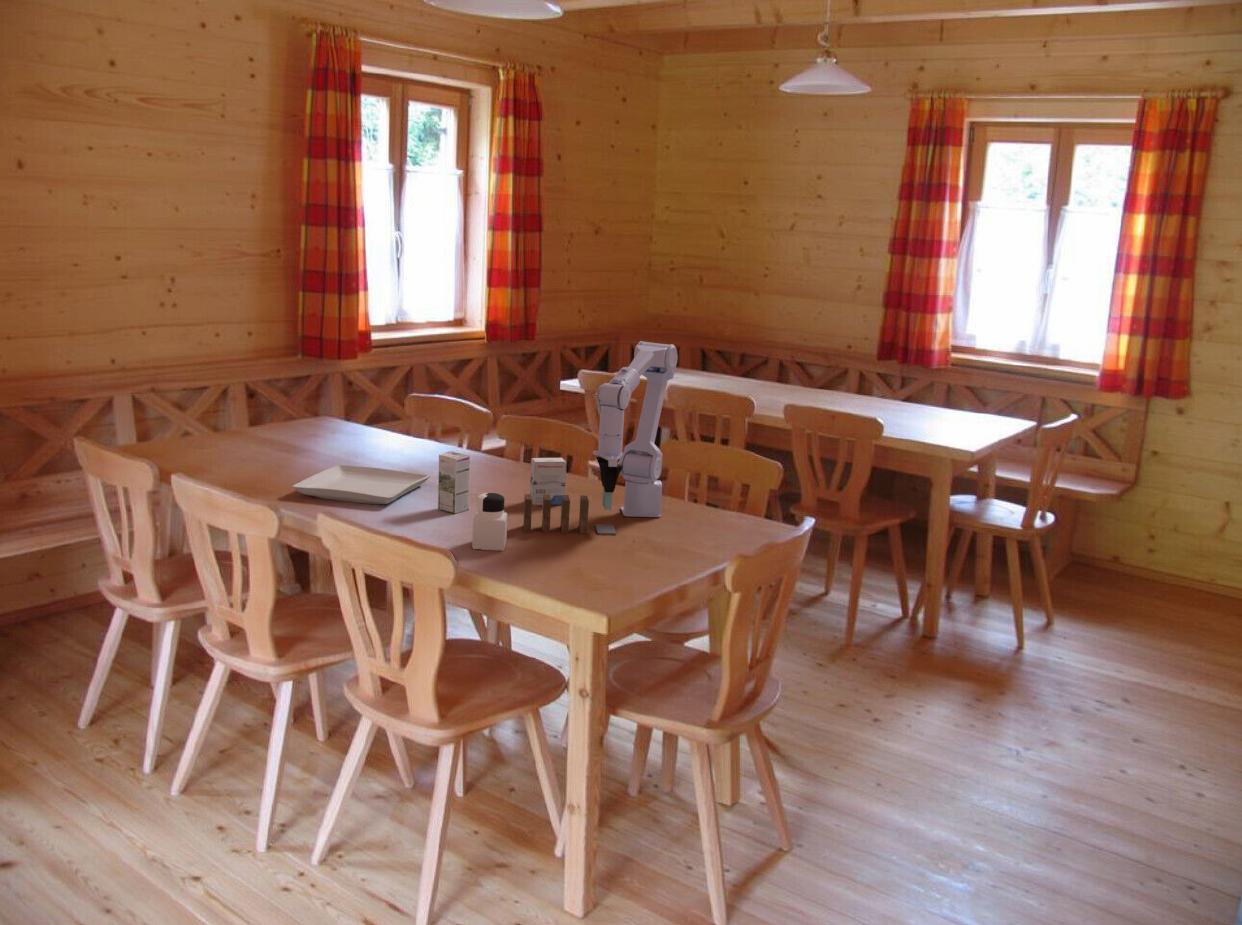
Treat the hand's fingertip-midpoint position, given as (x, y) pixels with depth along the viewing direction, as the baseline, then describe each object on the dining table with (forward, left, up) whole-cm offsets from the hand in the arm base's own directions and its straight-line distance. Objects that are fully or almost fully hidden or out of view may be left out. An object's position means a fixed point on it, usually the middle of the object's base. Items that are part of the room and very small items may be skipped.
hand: (607, 489), depth 263 cm
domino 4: (+6, 0, -10) cm, 12 cm away
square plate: (+61, -31, -11) cm, 69 cm away
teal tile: (0, 0, -4) cm, 4 cm away
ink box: (+13, -24, -11) cm, 29 cm away
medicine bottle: (+28, +14, -11) cm, 33 cm away
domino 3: (+10, 0, -10) cm, 14 cm away
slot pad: (0, 0, -10) cm, 10 cm away
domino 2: (+15, 0, -10) cm, 18 cm away
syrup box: (+37, -15, -11) cm, 41 cm away
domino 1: (+19, 0, -10) cm, 22 cm away
